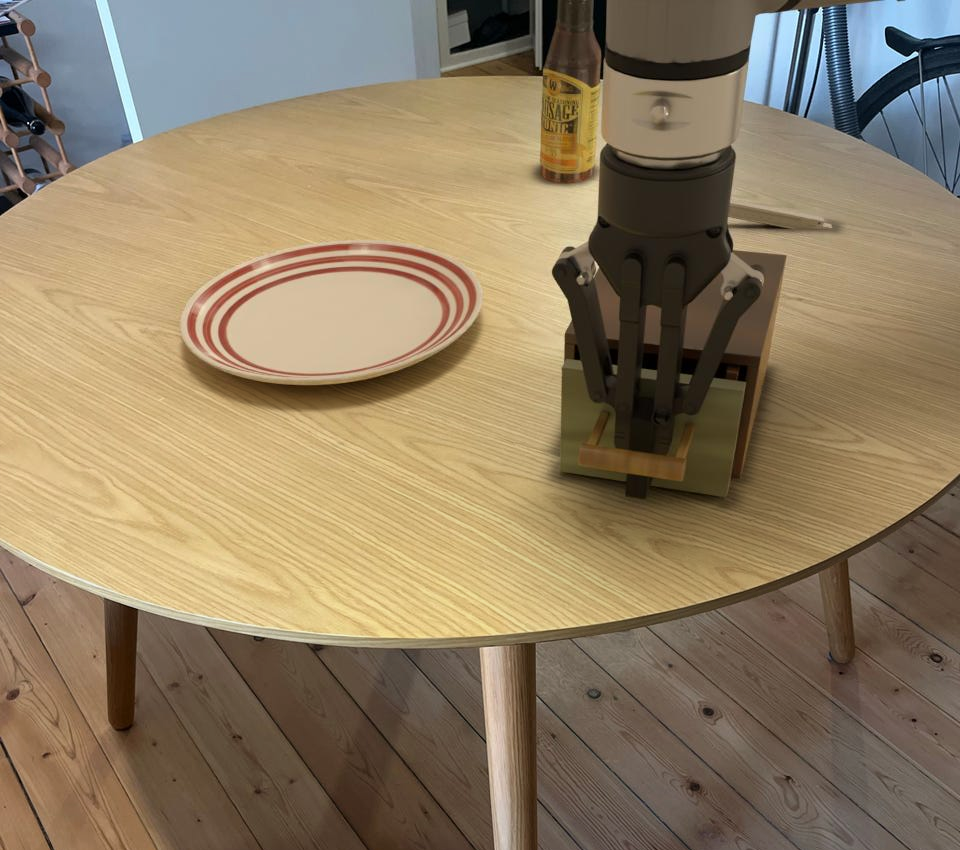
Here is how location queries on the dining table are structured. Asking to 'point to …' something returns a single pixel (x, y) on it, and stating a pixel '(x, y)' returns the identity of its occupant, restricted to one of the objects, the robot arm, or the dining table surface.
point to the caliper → (775, 216)
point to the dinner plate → (331, 312)
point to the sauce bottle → (570, 95)
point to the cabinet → (744, 344)
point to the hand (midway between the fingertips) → (639, 486)
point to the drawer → (696, 439)
